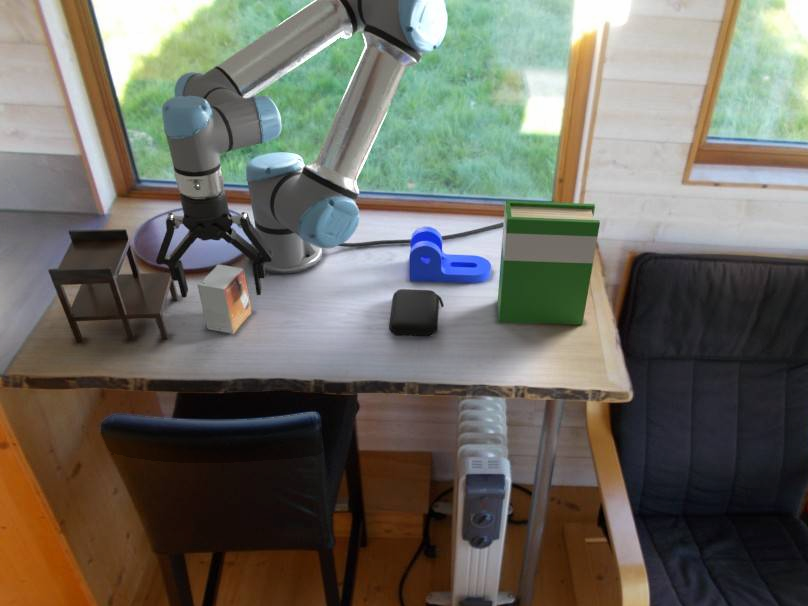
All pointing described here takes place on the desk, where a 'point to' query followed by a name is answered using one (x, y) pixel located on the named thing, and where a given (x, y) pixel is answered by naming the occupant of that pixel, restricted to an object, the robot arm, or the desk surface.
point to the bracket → (443, 261)
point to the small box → (224, 298)
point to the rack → (109, 282)
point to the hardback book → (546, 261)
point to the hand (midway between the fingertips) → (222, 292)
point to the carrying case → (414, 313)
